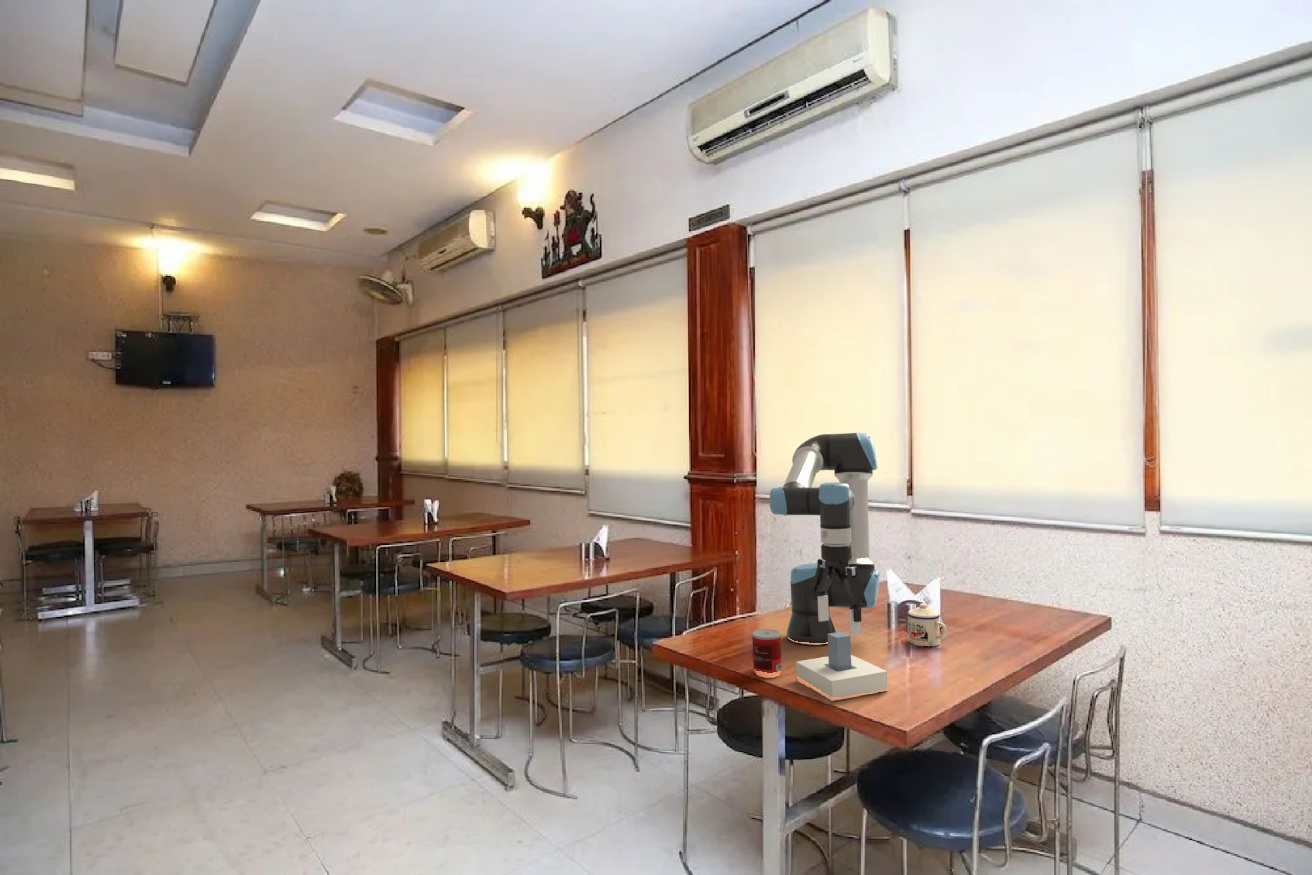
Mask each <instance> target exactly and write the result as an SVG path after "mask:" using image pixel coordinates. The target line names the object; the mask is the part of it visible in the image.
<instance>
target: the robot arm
mask: <svg viewBox="0 0 1312 875" xmlns="http://www.w3.org/2000/svg"><path fill="white" fill-rule="evenodd" d="M791 460H792V466H791V468H790V470H789V472H788V475H787V477H786V478H785V481H784V484H783V486H779V487H773V488H771V489H770V492H769V509H770V512H771V513H772V514H773V515H775V516H776V515H777V516H784V517H785V516H819V522H820V526H819V527H820V543H822V544H821V545H820V553H821V554H820V555H821V558H818V559H817V562H809V563H803V564H800V565H797V566H795V567H793V568H792V569H791V571H790V581H789V584H790V602H791V615H790V619H789V622H788V626H787V629H786V638H787V637H789V638H790V639H792V640H794V641H798V642H809V643H826V642H828V634H830V633H836V632H837V631H836V628H835V626H834V623H833V620H832V618H831V613H830V612H831V611H830V607H832V608H847V609H849V610H848V611H849V612H848V614H849V618H848V619H849V635H850V636H857V635H862V609H873V608H875V607H876V604H877V600H878V595H879V589H880V575H881V574H880V573H881V572H880V570H878V569H875V563H874V562H873V561H872V560H871V559H870V539H869V538H870V535H869V534H870V532H869V483H868V482H869V480H870V479H871V478H872V477H873V476H874V474H873V473H874V472H873V471H876V470H877V469H878V462H877V454H876V449H875V444H874V440H873V437H872V435H871V434H869V433H863V432H853V433H852V432H850V433H848V432H847V433H829V434H828V433H824V434H818V435H815V436H813V437H810V438H808V439H807V440H805V441H804V442H802V443H801V444H800V445H799V446H798V447H797V448H796V450H795V451H794V453H793V456H792V459H791ZM820 471H834V474H833V475H834V477H835V478H836V479H837V480H838V482H824V483H821V484H820V485H819V487H817V486H816V487H813V483H814V481H815V478H816V475H817V473H819V472H820Z"/></svg>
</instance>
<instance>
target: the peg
mask: <svg viewBox="0 0 1312 875" xmlns="http://www.w3.org/2000/svg"><path fill="white" fill-rule="evenodd" d="M851 644H852V643H851V635H850V634H848V633H845V632H843V631H838V632H837V631H836V633H830V634H828V644H827V650H828V651H827V653H828V654H827V656H828V659H829V668H831V669H833V670H835V671H837V672H838V671H844V670H850V669H851V655H852V646H851Z"/></svg>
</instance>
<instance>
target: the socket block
mask: <svg viewBox="0 0 1312 875" xmlns="http://www.w3.org/2000/svg"><path fill="white" fill-rule="evenodd" d="M795 670H796V676H798V677H800V678H801V679H803V680H805V681H806V682H808V683H809V684H812V685H813V686H814V687H816V688H817V689H820V690H821V691H822V692H824V693H826V694H827V695H829V696H830V697H844V696H850V695H854V694H861V693H870V692H875V691H879V690H885V689H889V687H888V685H889V684H888V671H887V670H885V669H883V668H880V667H879V666H877V665H874V664H873V663H870V662H868V661H866V660H864V659H861V658H859V657H857V656H855V655H853V654H851V669H850V670H844V671H838V672H837V671H835V670H833V669H831V668H829V659H828V655H827V656H821V657H816V658H809V659H805V660H797V661H795ZM796 676H795V677H796Z"/></svg>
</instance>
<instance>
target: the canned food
mask: <svg viewBox="0 0 1312 875" xmlns="http://www.w3.org/2000/svg"><path fill="white" fill-rule="evenodd" d="M751 639H752V640H751V643H752V666H753V668H754V669H755V670H756V671H762V672H767V673H773V672H778V671H781V670H782V671H783V665H782V664H783V660H782V635H781V632H780V631H778V630H776V629H769V628H762V629H756V630H754V631H753V632H752V636H751Z"/></svg>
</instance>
